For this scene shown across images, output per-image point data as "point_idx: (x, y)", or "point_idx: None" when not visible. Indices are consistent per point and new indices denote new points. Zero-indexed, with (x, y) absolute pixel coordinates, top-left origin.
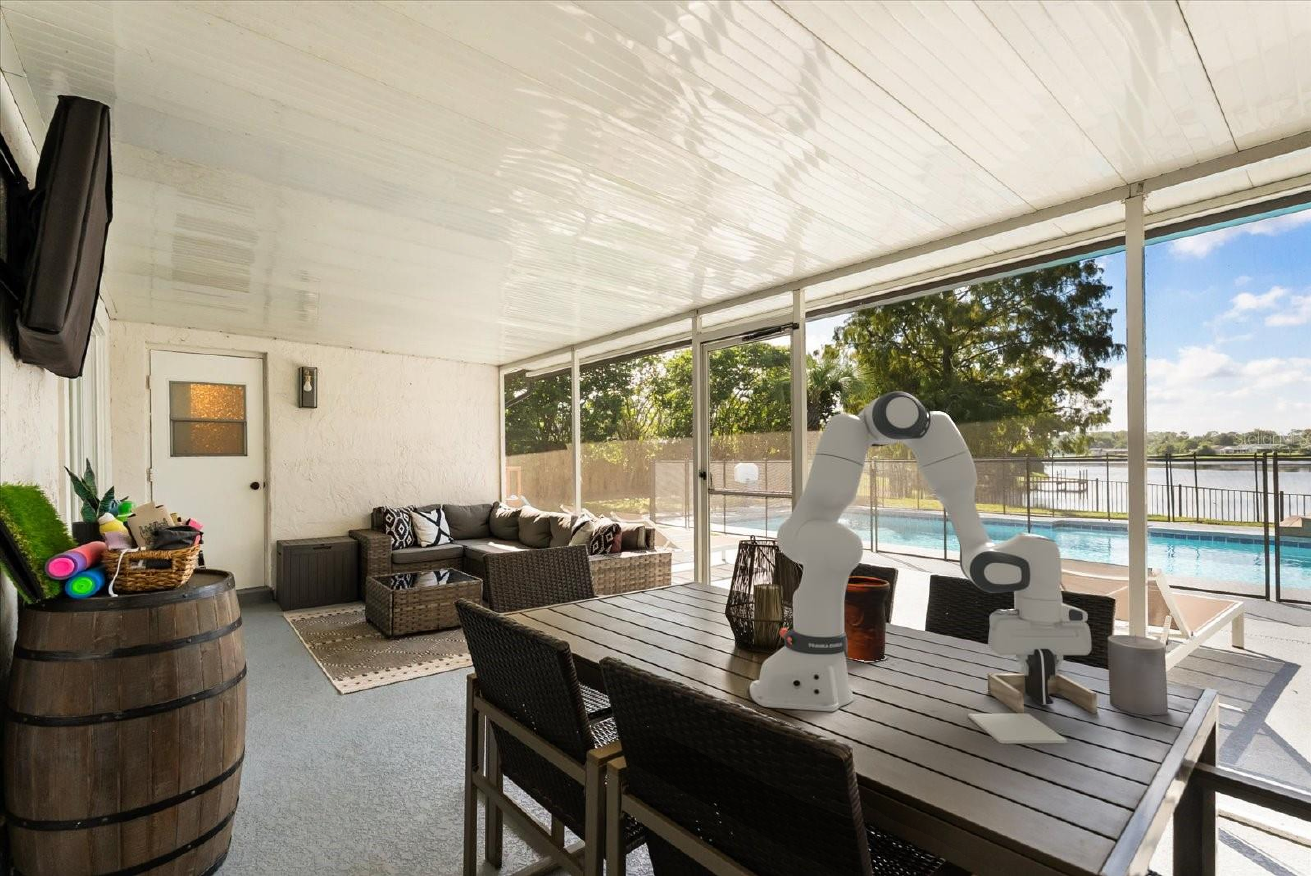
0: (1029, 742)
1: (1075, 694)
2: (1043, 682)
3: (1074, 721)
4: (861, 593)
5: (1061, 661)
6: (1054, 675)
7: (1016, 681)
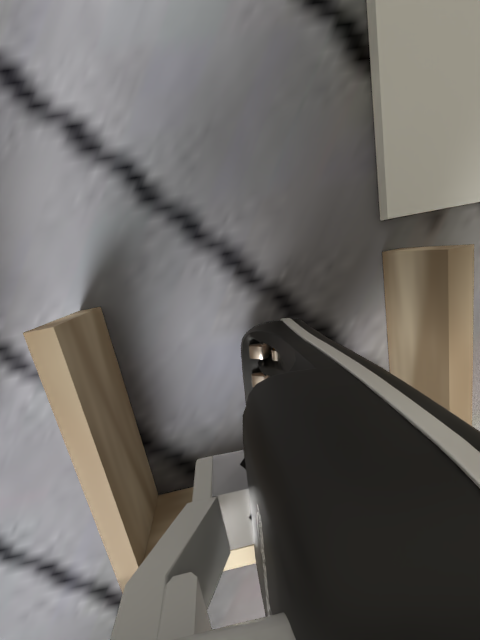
0: None
1: (117, 424)
2: (324, 345)
3: (213, 196)
4: None
5: (148, 564)
6: (217, 456)
7: None
